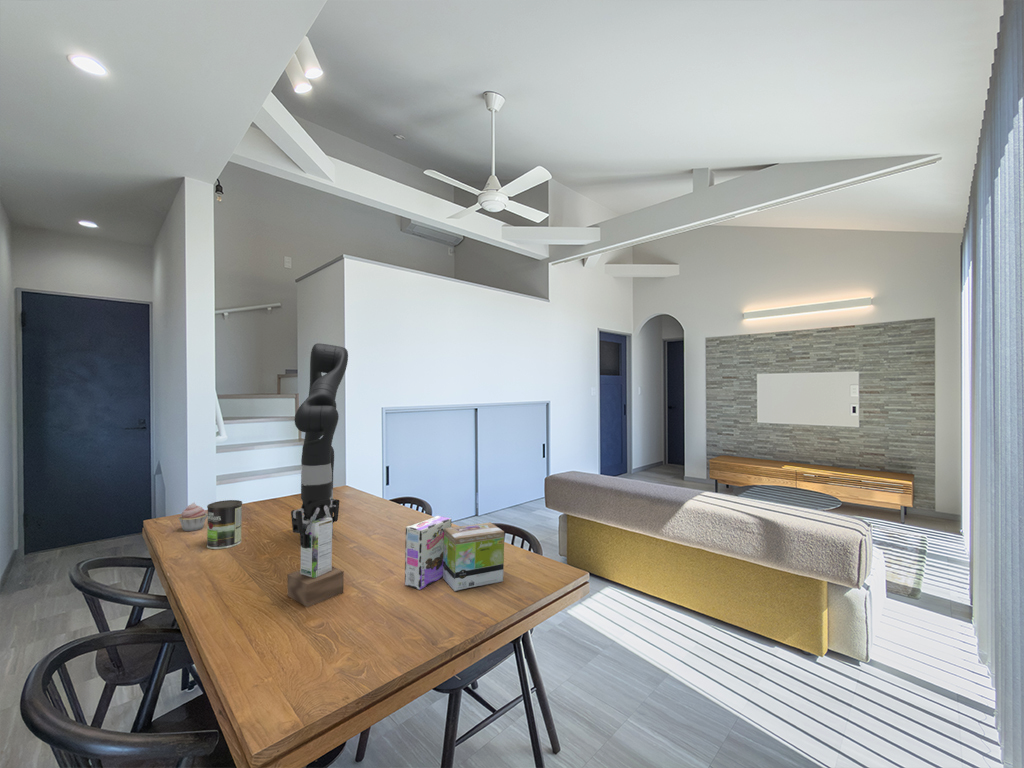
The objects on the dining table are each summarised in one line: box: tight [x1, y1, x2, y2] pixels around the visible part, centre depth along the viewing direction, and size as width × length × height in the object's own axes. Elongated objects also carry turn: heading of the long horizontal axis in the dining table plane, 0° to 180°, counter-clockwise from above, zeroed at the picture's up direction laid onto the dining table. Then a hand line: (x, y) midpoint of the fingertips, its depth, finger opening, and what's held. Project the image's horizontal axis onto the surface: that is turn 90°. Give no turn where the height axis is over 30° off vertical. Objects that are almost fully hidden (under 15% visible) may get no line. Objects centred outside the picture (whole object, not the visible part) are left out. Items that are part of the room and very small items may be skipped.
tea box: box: [442, 521, 505, 592], centre depth 129 cm, size 15×10×15 cm
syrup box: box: [299, 517, 333, 578], centre depth 120 cm, size 6×6×14 cm
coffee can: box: [206, 499, 243, 550], centre depth 157 cm, size 10×10×14 cm
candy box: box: [404, 515, 452, 590], centre depth 130 cm, size 14×6×16 cm, turn 149°
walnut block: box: [287, 565, 345, 608], centre depth 120 cm, size 10×10×6 cm
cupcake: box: [178, 502, 208, 532], centre depth 173 cm, size 9×9×10 cm
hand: (316, 543), depth 120 cm, fingers open, 6 cm apart
